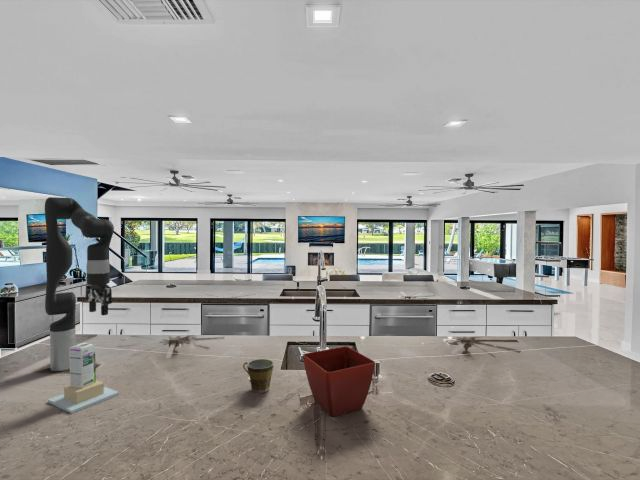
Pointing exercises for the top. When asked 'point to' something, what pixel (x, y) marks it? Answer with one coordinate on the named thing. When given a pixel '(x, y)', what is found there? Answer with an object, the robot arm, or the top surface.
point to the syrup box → (82, 365)
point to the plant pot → (339, 379)
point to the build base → (83, 404)
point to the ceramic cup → (259, 374)
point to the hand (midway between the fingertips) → (98, 313)
